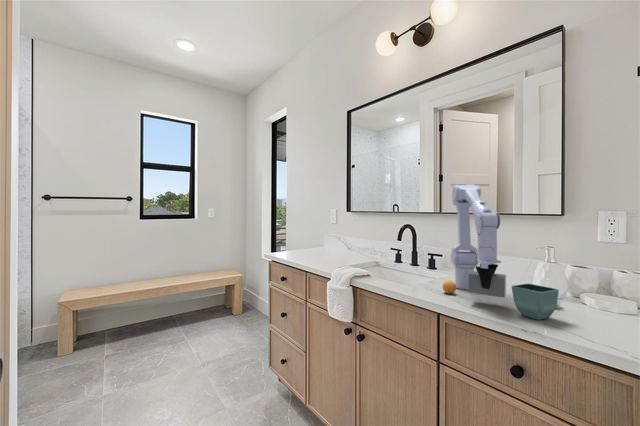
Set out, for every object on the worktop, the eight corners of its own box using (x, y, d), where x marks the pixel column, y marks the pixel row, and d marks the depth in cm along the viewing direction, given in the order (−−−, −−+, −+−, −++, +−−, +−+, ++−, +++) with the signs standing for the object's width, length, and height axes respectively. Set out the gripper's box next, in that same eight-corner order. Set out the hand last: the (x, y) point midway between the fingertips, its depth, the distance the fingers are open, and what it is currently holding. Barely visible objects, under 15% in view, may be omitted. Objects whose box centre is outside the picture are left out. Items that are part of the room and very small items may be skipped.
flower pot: (510, 314, 88) (510, 285, 89) (528, 310, 92) (528, 282, 92) (541, 323, 80) (541, 292, 80) (559, 319, 84) (559, 289, 84)
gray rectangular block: (471, 288, 103) (471, 271, 103) (505, 293, 97) (505, 274, 97) (468, 292, 98) (468, 273, 98) (504, 297, 92) (504, 277, 92)
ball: (444, 291, 116) (444, 278, 116) (457, 293, 113) (457, 280, 113) (441, 293, 112) (441, 280, 112) (454, 295, 109) (454, 282, 109)
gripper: (498, 249, 89) (498, 292, 89) (502, 246, 101) (502, 284, 101) (473, 248, 94) (473, 289, 93) (480, 244, 105) (480, 281, 105)
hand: (487, 286), depth 97 cm, fingers closed on gray rectangular block, 6 cm apart
